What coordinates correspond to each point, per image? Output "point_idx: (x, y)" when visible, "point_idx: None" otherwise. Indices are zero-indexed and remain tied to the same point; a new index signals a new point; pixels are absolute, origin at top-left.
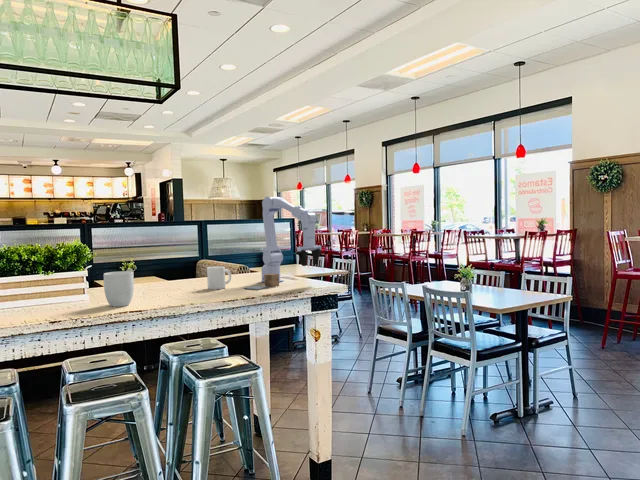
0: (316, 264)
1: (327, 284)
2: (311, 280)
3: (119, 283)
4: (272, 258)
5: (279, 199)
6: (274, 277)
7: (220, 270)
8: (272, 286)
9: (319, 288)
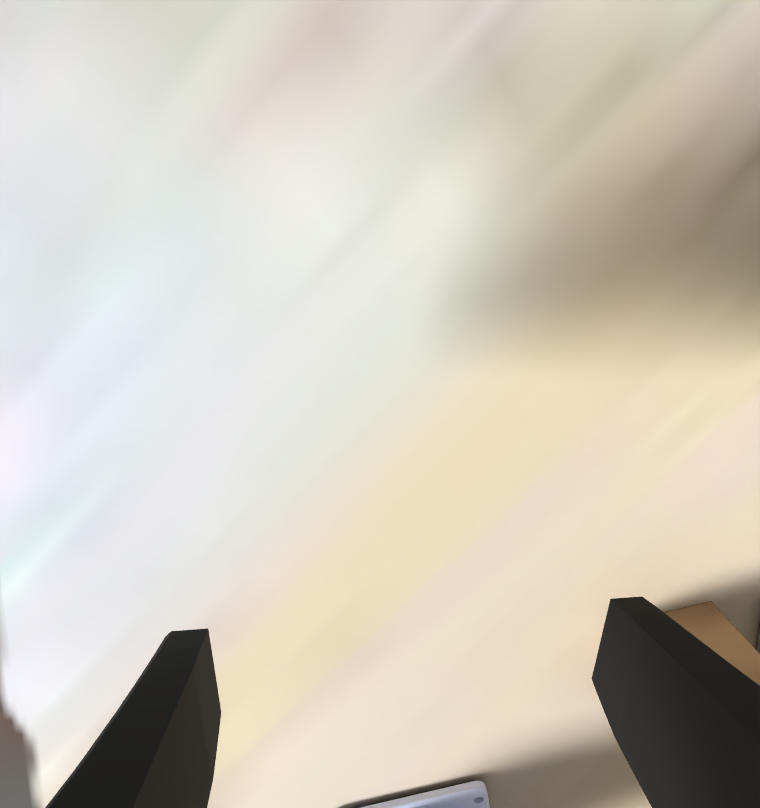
0: (200, 631)
1: (117, 294)
2: (64, 702)
3: None
4: None
5: None
6: None
7: None
8: (717, 609)
9: (509, 66)
